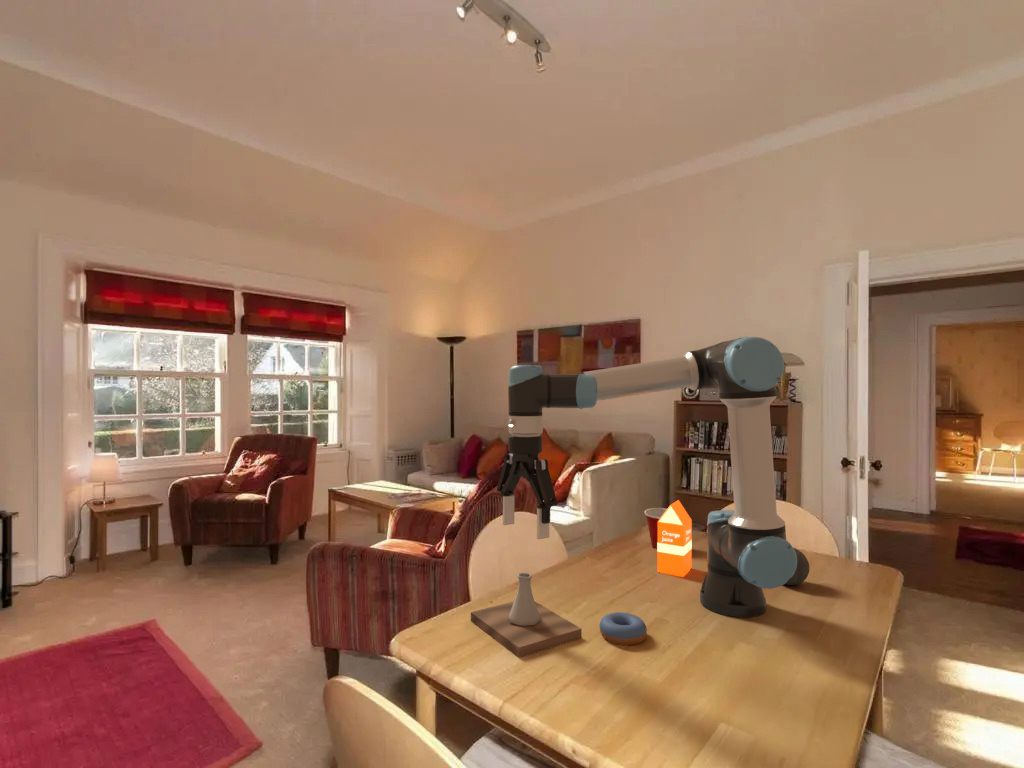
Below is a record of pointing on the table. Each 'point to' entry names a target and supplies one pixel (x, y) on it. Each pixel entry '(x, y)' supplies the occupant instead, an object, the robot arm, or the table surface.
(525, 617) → the flask
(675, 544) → the orange juice
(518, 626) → the walnut board
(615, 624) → the doughnut
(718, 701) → the table surface
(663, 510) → the plastic cup
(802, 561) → the decorative ball
